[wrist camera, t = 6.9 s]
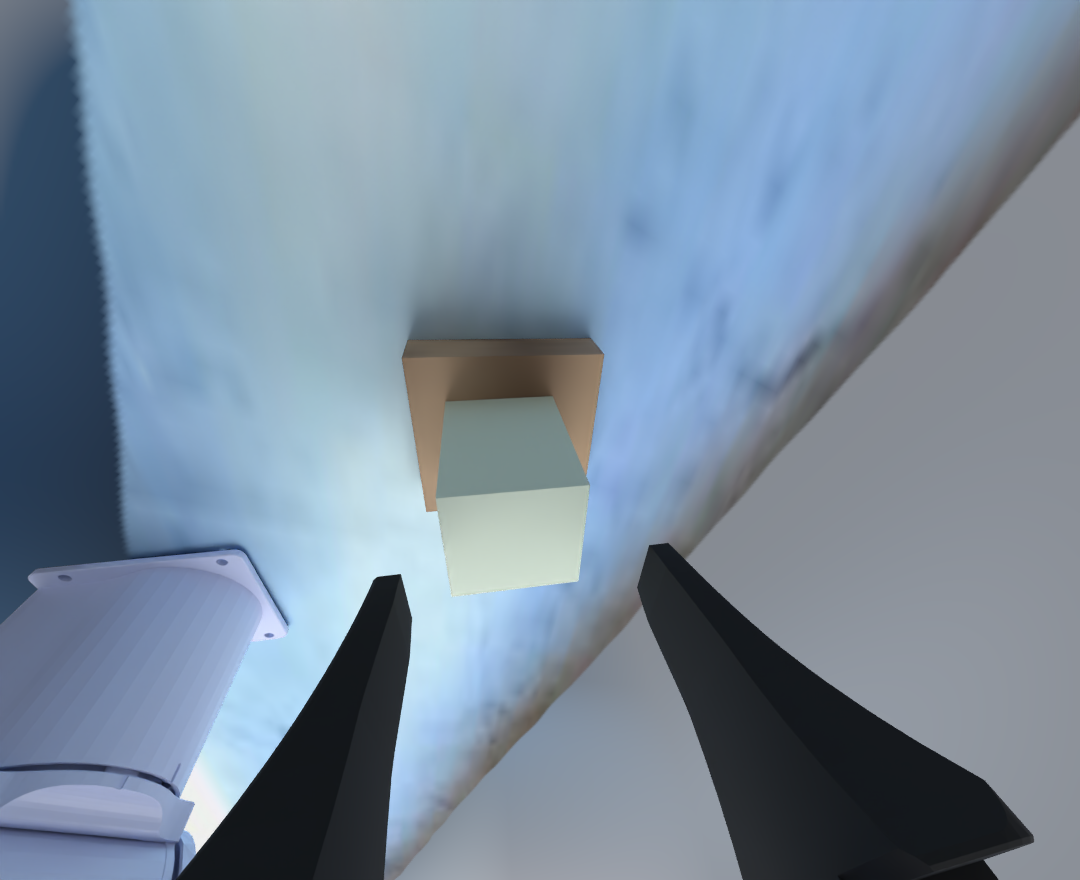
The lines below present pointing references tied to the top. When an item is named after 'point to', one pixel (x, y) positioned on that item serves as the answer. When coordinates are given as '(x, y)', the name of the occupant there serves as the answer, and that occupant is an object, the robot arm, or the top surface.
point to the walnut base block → (498, 386)
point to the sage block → (509, 495)
